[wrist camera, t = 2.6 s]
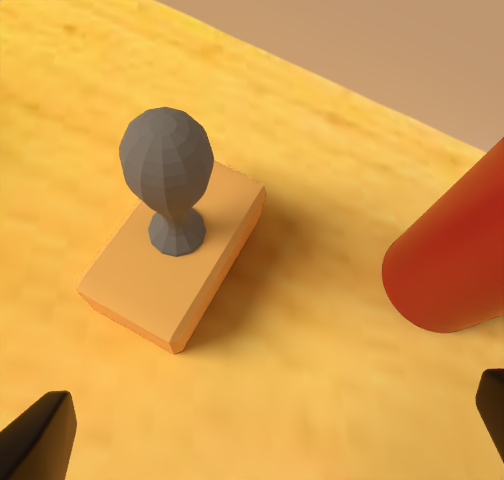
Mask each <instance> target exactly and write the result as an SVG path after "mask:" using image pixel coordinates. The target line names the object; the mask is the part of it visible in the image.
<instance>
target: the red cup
mask: <svg viewBox="0 0 504 480" xmlns="http://www.w3.org/2000/svg"><path fill="white" fill-rule="evenodd" d="M382 278H383V284H384V287H385V290H386V293H387V295H388V297H389V299H390V300H391V302H392V304H393V305H394V306H395V308H396V309H397V310H398V311H399V312H400V313H401V314H402V315H403V316H404V317H405V318H406V319H407V320H409V321H410V322H412V323H413V324H415V325H417V326H419V327H421V328H423V329H426V330H429V331H433V332H439V333H451V332H456V331H459V330H462V329H465V328H468V327H470V326H473V325H476V324H478V323H481V322H484V321H487V320H489V319H492V318H495V317H497V316H500V315H503V314H504V137H503V138H502V139H501V140H500V141H499V142H498V143H497V144H496V145H495V146H494V147H493V148H492V149H491V150H490V151H489V152H488V153H487V154H486V155H485V156H484V157H482V158H481V159H480V160H479V161H478V162H477V163H476V164H475V165H474V166H473V167H472V168H471V169H470V170H469V171H468V172H467V173H466V174H465V175H464V176H463V177H462V178H461V179H460V180H458V181H457V182H456V183H455V184H454V185H453V186H452V187H451V188H450V189H449V190H448V191H447V192H446V193H445V194H444V195H443V196H442V197H441V198H440V199H439V200H438V201H437V202H436V203H435V204H433V205H432V206H431V207H430V208H429V209H428V210H427V211H426V212H425V213H424V214H423V215H422V216H421V217H420V218H419V219H418V220H417V221H416V222H415V223H414V224H413V225H412V226H411V227H409V228H408V229H407V230H406V231H405V232H404V233H403V234H402V235H401V236H400V237H399V238H398V239H397V240H396V241H395V242H394V243H393V244H392V245H391V246H390V247H389V249H388V251H387V252H386V254H385V257H384V260H383V264H382Z"/></svg>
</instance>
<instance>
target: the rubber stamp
mask: <svg viewBox="0 0 504 480" xmlns="http://www.w3.org/2000/svg"><path fill="white" fill-rule="evenodd" d="M119 156H120V160H121V165H122V169H123V173H124V177H125V180H126V183H127V185H128V186H129V188H130V189H131V190H132V192H133V193H134V194H135V195H136V196H138V197H139V200H138V201H137V202H136V203H135V205H134V206H133V207H132V209H131V210H130V211H129V213H128V214H127V215H126V217H125V218H124V219H123V221H122V222H121V223H120V224H119V226H118V227H117V228H116V230H115V231H114V232H113V234H112V235H111V236H110V238H109V239H108V240H107V242H106V243H105V244H104V245H103V247H102V248H101V249H100V251H99V252H98V253H97V255H96V256H95V257H94V259H93V260H92V261H91V263H90V264H89V265H88V266H87V268H86V269H85V270H84V272H83V273H82V274H81V276H80V277H79V278H78V280H77V282H76V291H77V292H78V293H79V294H80V295H81V296H82V297H83V298H84V299H85V300H86V301H87V302H88V304H89V305H90V306H91V307H92V308H93V309H94V310H96V311H98V312H100V313H101V314H103V315H105V316H107V317H108V318H110V319H112V320H114V321H116V322H117V323H119V324H121V325H123V326H124V327H126V328H128V329H130V330H132V331H133V332H135V333H137V334H139V335H140V336H142V337H144V338H146V339H148V340H149V341H151V342H153V343H155V344H156V345H158V346H160V347H162V348H164V349H165V350H167V351H169V352H171V353H172V354H176V353H178V352H181V351H182V350H183V349H184V347H185V345H186V344H187V342H188V340H189V338H190V337H191V335H192V333H193V332H194V330H195V328H196V326H197V325H198V323H199V321H200V320H201V318H202V316H203V314H204V313H205V311H206V309H207V308H208V306H209V304H210V302H211V301H212V299H213V297H214V296H215V294H216V292H217V291H218V289H219V287H220V285H221V284H222V282H223V280H224V279H225V277H226V275H227V273H228V272H229V270H230V268H231V267H232V265H233V263H234V261H235V260H236V258H237V256H238V255H239V253H240V251H241V249H242V248H243V246H244V244H245V243H246V241H247V239H248V237H249V236H250V234H251V232H252V231H253V229H254V227H255V226H256V224H257V222H258V220H259V219H260V215H261V212H262V208H263V204H264V201H265V197H266V192H265V188H264V185H263V184H261V183H259V182H257V181H255V180H253V179H251V178H249V177H247V176H245V175H243V174H241V173H239V172H237V171H235V170H233V169H231V168H229V167H227V166H225V165H223V164H221V163H219V162H217V161H215V160H214V156H213V152H212V149H211V146H210V143H209V140H208V137H207V134H206V131H205V130H204V128H203V127H202V126H201V125H200V124H199V123H198V122H197V121H195V120H194V119H193V118H192V117H191V116H189V115H188V114H187V113H185V112H184V111H181V110H176V109H172V108H168V107H162V108H156V109H149V110H147V111H145V112H144V113H142V114H141V115H139V116H138V117H137V118H135V119H134V120H133V121H132V122H130V123H129V125H128V127H127V130H126V132H125V134H124V136H123V139H122V141H121V144H120V147H119Z"/></svg>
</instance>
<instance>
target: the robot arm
mask: <svg viewBox="0 0 504 480" xmlns="http://www.w3.org/2000/svg"><path fill="white" fill-rule="evenodd" d="M476 406H477V409H478V411H479V413H480V415H481V417H482V419H483V421H484V423H485V426H486V428H487V430H488V432H489V434H490V436H491V438H492V440H493V442H494V444H495V446H496V448H497V450H498V452H499V454H500V457H501V459H502V461H503V463H504V369H501V368H500V369H487V370H485V371H484V372H483V374H482V376H481V380H480V383H479V387H478V390H477V393H476ZM76 428H77V420H76V415H75V410H74V406H73V401H72V396H71V394H70V392H68V391H51V392H48V393H46V394H45V395H43V396H42V397H41V398H40V399H39V400H38V401H36V402H35V403H34V404H33V405H32V406H30V407H29V408H28V409H27V410H26V411H25V412H23V413H22V414H21V415H20V416H19V417H17V418H16V419H15V420H14V421H13V422H11V423H10V424H9V425H8V426H7V427H6V428H4V429H3V430H2V431H1V432H0V480H65V476H66V472H67V468H68V464H69V459H70V455H71V451H72V447H73V442H74V438H75V434H76Z"/></svg>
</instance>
